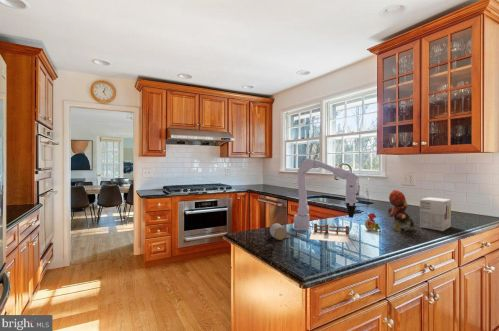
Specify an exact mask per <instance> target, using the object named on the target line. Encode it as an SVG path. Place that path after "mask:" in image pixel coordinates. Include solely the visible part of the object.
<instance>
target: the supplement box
mask: <svg viewBox="0 0 499 331" xmlns="http://www.w3.org/2000/svg"><path fill="white" fill-rule="evenodd" d="M451 218H452V198H441V197H429V196H428V197H424V198H420V199H419V227H420V228H423V229H429V230H434V231H441V232H444V231H446V230H447V229H449V228H451V226H452V225H451V224H452V223H451V222H452V219H451Z"/></svg>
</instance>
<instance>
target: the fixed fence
mask: <svg viewBox="0 0 499 331" xmlns="http://www.w3.org/2000/svg"><path fill="white" fill-rule="evenodd" d="M323 228H324V229H323ZM313 229H314V232H317V231H320V232H322V231H325V233H328V230H329V223H328V224H327V223H326V224H324V225H323V224H318V223H313Z"/></svg>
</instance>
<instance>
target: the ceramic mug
mask: <svg viewBox="0 0 499 331" xmlns="http://www.w3.org/2000/svg"><path fill="white" fill-rule="evenodd" d="M269 233H270V235H271V236H272V237H273V238H274V239H275V240H278V241H283V240H284V239H285V238H286V239H290V238H291V237H292V236H291V234H289V233H287V230H286V229H285V228H284V227H283V226H282V225H281V224H280V223H273V224H272V225H271V226H270V227H269Z"/></svg>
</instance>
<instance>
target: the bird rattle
mask: <svg viewBox="0 0 499 331" xmlns="http://www.w3.org/2000/svg"><path fill="white" fill-rule="evenodd" d="M367 217H368V218H366V220H365V222H364V226H365V228H366V230H368V231H373V230H374V231H376V232H377V231H378V230H381V229H382V228H381V227H380V224H379V223H378V222H377V223H376V220H375V218H377V215H375V213H374V212H373V213H369V214H367Z"/></svg>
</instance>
